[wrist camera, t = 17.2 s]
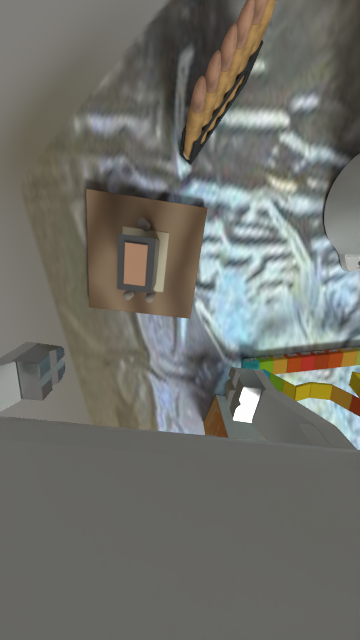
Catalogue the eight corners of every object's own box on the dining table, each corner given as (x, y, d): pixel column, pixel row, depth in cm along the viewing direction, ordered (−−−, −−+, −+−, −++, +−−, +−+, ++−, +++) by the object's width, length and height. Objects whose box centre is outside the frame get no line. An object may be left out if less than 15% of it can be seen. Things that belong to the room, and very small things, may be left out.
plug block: (159, 241, 28) (155, 238, 21) (156, 283, 30) (151, 293, 23) (131, 237, 27) (117, 233, 20) (129, 280, 29) (116, 289, 22)
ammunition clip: (190, 165, 26) (203, 100, 15) (179, 154, 26) (184, 79, 14) (246, 82, 23) (315, -75, 12) (235, 68, 23) (296, -107, 12)
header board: (205, 210, 28) (212, 202, 23) (189, 315, 33) (192, 326, 28) (90, 192, 27) (73, 179, 22) (92, 304, 32) (79, 314, 27)
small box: (214, 393, 39) (234, 459, 27) (244, 399, 40) (276, 466, 27) (202, 423, 41) (214, 496, 29) (229, 428, 42) (253, 501, 30)
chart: (402, 339, 37) (548, 395, 22) (398, 354, 38) (533, 416, 24) (241, 357, 37) (285, 424, 22) (241, 371, 38) (283, 444, 24)
